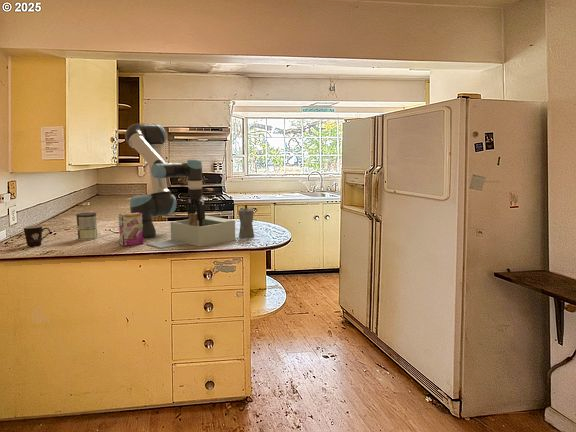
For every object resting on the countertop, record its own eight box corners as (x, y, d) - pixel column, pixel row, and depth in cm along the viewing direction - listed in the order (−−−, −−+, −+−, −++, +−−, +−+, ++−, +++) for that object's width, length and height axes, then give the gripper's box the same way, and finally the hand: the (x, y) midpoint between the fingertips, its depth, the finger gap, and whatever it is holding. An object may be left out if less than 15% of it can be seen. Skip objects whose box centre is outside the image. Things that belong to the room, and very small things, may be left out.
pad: (146, 244, 251) (146, 243, 251) (169, 240, 261) (169, 239, 261) (160, 248, 242) (160, 247, 242) (184, 244, 252) (184, 243, 252)
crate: (171, 239, 264) (170, 220, 263) (206, 233, 281) (206, 215, 280) (199, 246, 246) (198, 225, 245) (235, 239, 263) (234, 220, 262)
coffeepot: (258, 237, 269) (258, 205, 266) (242, 239, 265) (242, 206, 262) (248, 233, 283) (248, 202, 280) (233, 234, 278) (232, 203, 276)
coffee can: (73, 239, 267) (72, 214, 265) (89, 236, 275) (88, 212, 273) (85, 241, 261) (84, 215, 259) (101, 238, 270) (100, 213, 268)
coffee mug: (23, 248, 245) (21, 228, 244) (27, 244, 253) (25, 225, 252) (48, 246, 248) (46, 227, 247) (51, 243, 256) (49, 224, 255)
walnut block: (189, 232, 260) (188, 213, 258) (198, 230, 264) (198, 212, 262) (194, 233, 256) (194, 214, 255) (204, 231, 260) (203, 213, 259)
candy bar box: (123, 246, 246) (121, 215, 244) (119, 245, 250) (117, 214, 248) (144, 243, 254) (142, 213, 251) (140, 242, 258) (138, 212, 255)
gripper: (211, 189, 253) (212, 232, 256) (191, 187, 265) (192, 228, 269) (199, 190, 248) (200, 234, 251) (179, 188, 260) (181, 230, 264)
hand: (196, 231), depth 260 cm, fingers closed on walnut block, 5 cm apart
